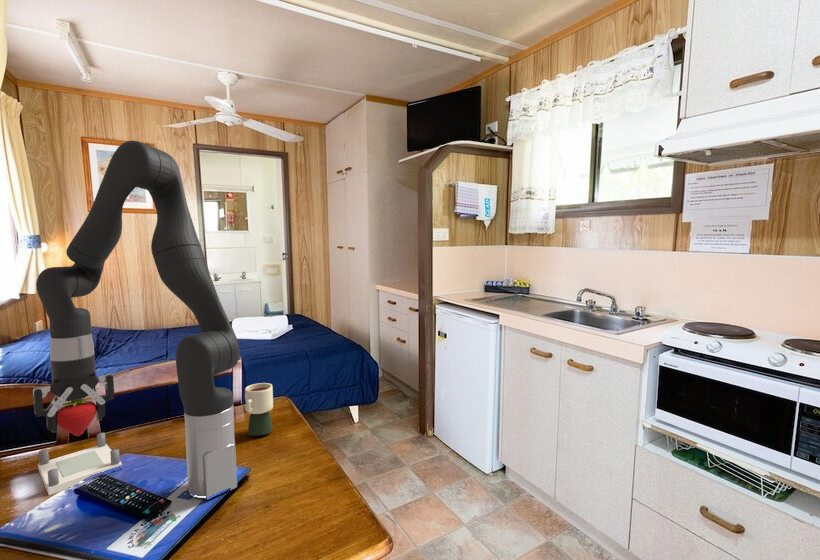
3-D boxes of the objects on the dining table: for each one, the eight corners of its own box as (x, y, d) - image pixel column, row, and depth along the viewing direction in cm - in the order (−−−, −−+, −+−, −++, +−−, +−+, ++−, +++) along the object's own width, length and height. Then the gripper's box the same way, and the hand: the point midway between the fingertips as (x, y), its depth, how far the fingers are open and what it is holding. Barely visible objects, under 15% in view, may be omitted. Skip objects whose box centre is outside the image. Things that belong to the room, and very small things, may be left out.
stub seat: (122, 469, 91) (121, 450, 90) (48, 495, 81) (47, 474, 81) (105, 448, 100) (104, 431, 100) (38, 469, 91) (36, 451, 90)
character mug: (259, 423, 114) (258, 379, 113) (282, 425, 113) (280, 381, 112) (236, 441, 103) (234, 393, 102) (261, 444, 102) (259, 395, 101)
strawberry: (51, 440, 88) (47, 396, 87) (90, 426, 95) (87, 385, 94) (65, 445, 86) (61, 401, 85) (104, 431, 92) (101, 389, 92)
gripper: (31, 365, 81) (37, 442, 82) (116, 351, 92) (120, 419, 93) (26, 358, 86) (32, 431, 87) (107, 346, 97) (111, 411, 98)
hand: (77, 425), depth 90 cm, fingers closed on strawberry, 7 cm apart
